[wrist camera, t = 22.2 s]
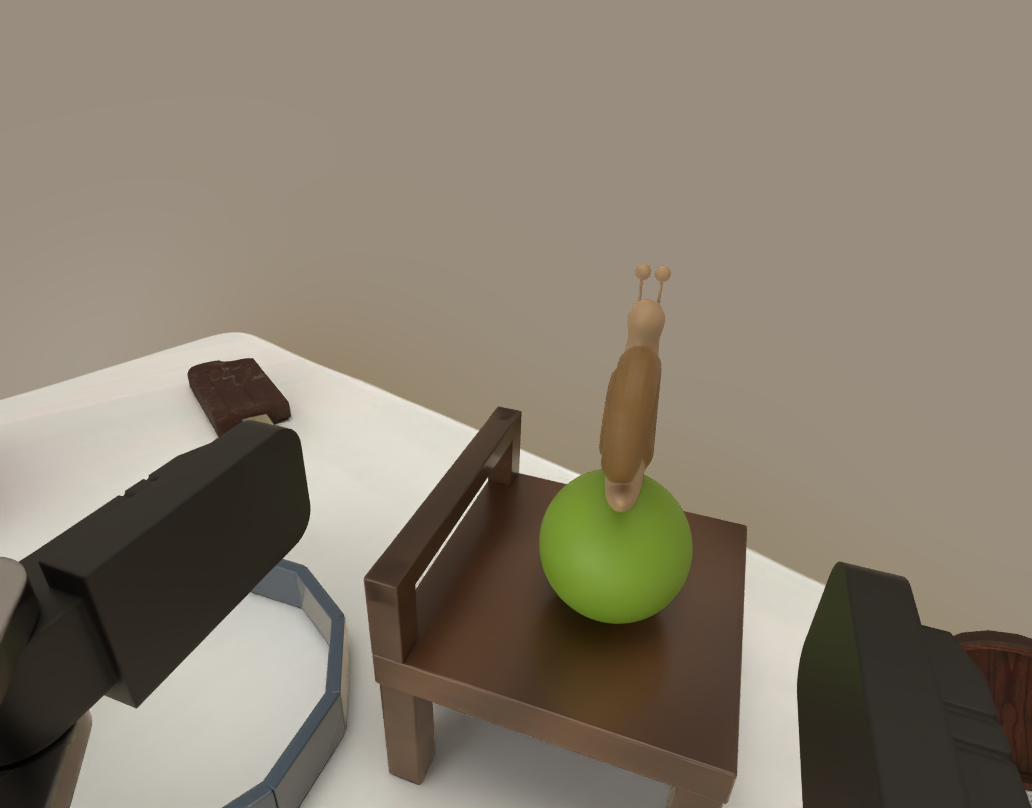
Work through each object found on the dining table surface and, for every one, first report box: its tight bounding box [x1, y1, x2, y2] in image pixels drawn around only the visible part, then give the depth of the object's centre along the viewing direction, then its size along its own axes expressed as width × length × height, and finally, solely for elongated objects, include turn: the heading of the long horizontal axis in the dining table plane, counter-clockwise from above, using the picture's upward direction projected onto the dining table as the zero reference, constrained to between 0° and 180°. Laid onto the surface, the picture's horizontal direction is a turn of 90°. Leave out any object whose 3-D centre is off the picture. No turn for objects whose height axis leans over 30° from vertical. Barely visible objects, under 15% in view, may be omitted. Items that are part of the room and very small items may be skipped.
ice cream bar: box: [188, 358, 291, 436], centre depth 48 cm, size 5×2×15 cm
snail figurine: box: [539, 264, 693, 624], centre depth 22 cm, size 5×6×12 cm
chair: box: [364, 407, 747, 808], centre depth 26 cm, size 12×12×10 cm
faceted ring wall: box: [222, 559, 350, 808], centre depth 26 cm, size 15×15×2 cm
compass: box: [954, 630, 1032, 791], centre depth 21 cm, size 8×8×7 cm
